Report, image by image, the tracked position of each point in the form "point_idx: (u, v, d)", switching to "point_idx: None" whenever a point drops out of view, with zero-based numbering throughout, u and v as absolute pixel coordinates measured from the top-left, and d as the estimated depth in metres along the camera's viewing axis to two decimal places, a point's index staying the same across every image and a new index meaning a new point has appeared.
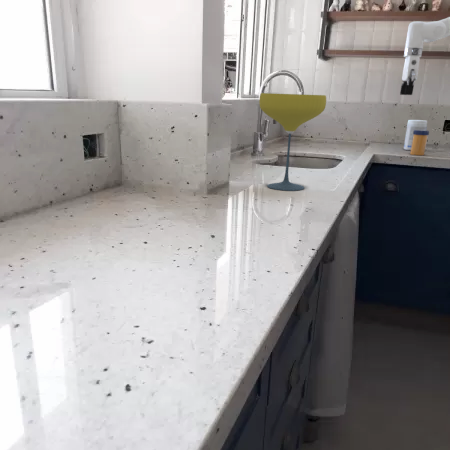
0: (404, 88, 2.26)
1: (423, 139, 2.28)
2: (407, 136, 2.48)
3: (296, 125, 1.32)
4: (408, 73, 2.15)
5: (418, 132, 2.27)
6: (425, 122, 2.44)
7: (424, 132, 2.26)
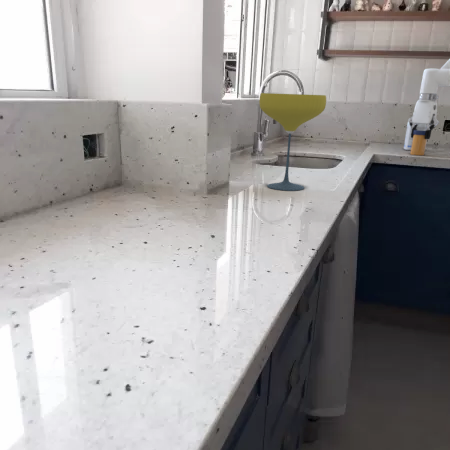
0: None
1: (423, 139, 2.28)
2: (407, 136, 2.48)
3: (296, 125, 1.32)
4: (431, 117, 2.22)
5: (418, 132, 2.27)
6: None
7: (424, 132, 2.26)
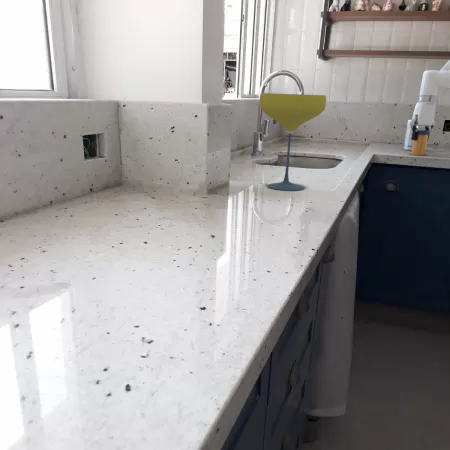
0: None
1: (423, 138, 2.28)
2: (407, 136, 2.48)
3: (296, 125, 1.32)
4: None
5: (428, 132, 2.27)
6: None
7: None
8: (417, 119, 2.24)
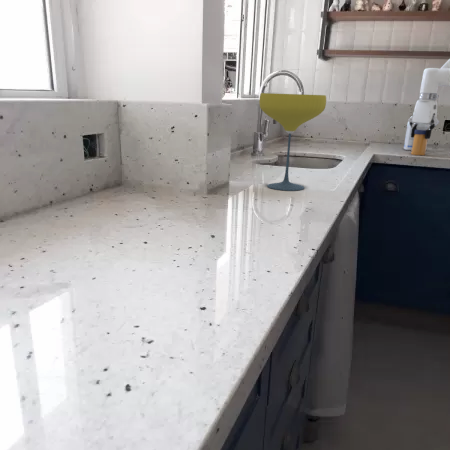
0: None
1: (424, 139, 2.28)
2: (407, 136, 2.48)
3: (296, 125, 1.32)
4: (431, 117, 2.22)
5: None
6: None
7: None
8: None
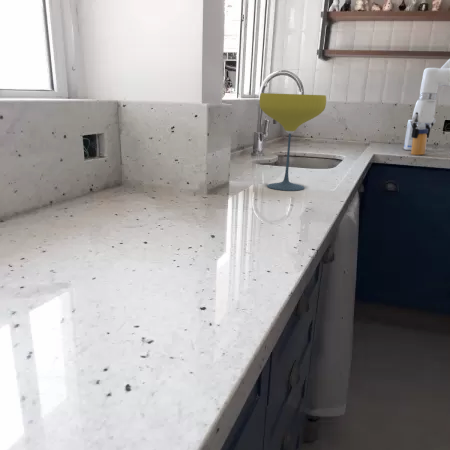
0: None
1: (423, 138, 2.28)
2: (407, 136, 2.48)
3: (296, 125, 1.32)
4: None
5: None
6: None
7: None
8: (417, 117, 2.24)
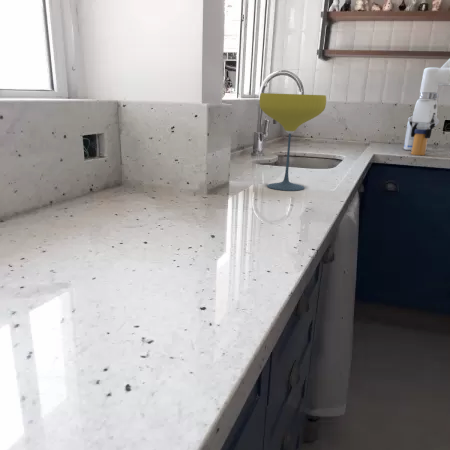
0: None
1: (424, 139, 2.28)
2: (407, 136, 2.48)
3: (296, 125, 1.32)
4: (431, 117, 2.22)
5: (416, 131, 2.29)
6: None
7: (421, 131, 2.27)
8: None
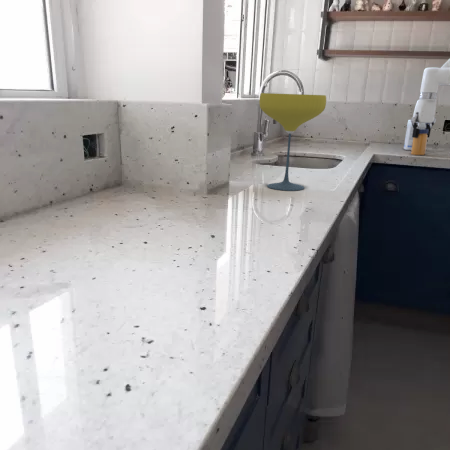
0: None
1: (424, 138, 2.28)
2: (407, 136, 2.48)
3: (296, 125, 1.32)
4: None
5: (424, 131, 2.27)
6: None
7: (428, 130, 2.28)
8: (418, 116, 2.24)
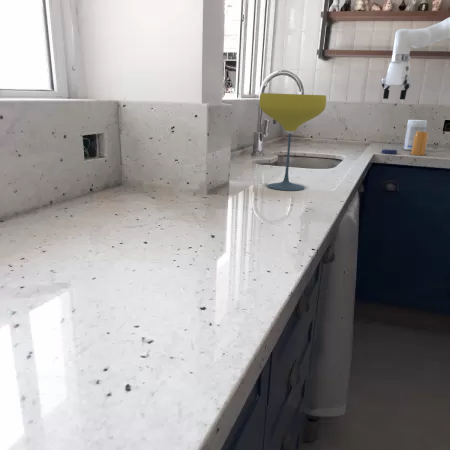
0: (387, 92, 2.33)
1: (424, 139, 2.28)
2: (407, 136, 2.48)
3: (296, 125, 1.32)
4: (403, 79, 2.23)
5: (383, 151, 2.33)
6: (425, 122, 2.44)
7: (388, 151, 2.31)
8: None
